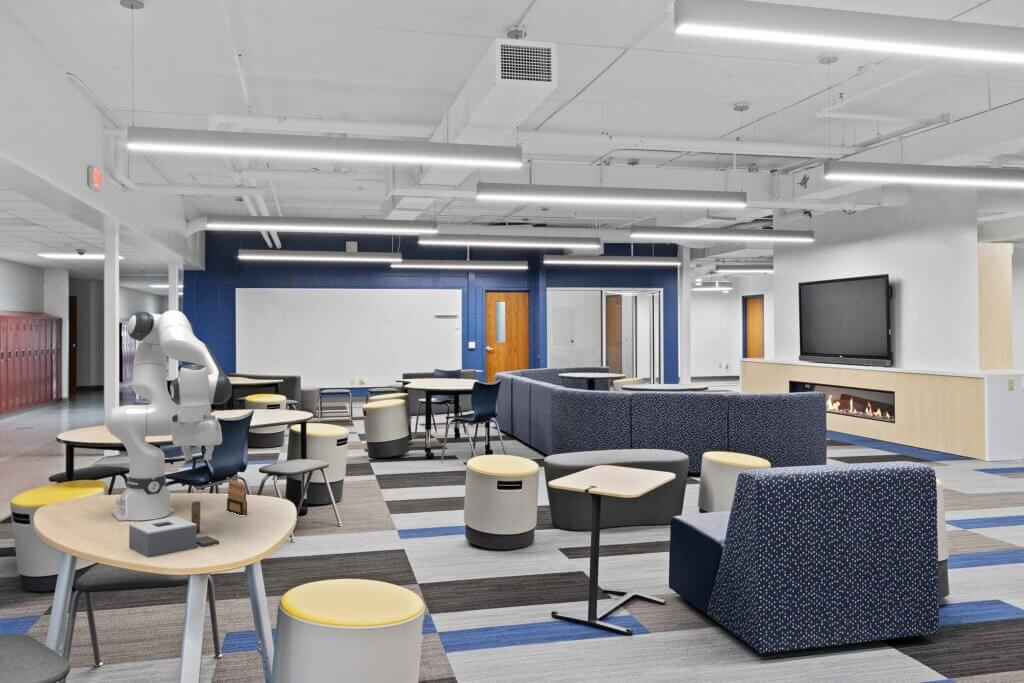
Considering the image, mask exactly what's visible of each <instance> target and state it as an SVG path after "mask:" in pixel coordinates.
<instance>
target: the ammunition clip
mask: <svg viewBox="0 0 1024 683" xmlns="http://www.w3.org/2000/svg"><path fill="white" fill-rule="evenodd" d="M227 511H229V512H233V513H236V514H239V515H247V516H248V501H247V489H246V483H245V481H240V480H236V479H235V480H234V479H232V478H230V479H229V481H228V491H227V498H226V512H227Z"/></svg>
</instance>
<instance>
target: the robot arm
mask: <svg viewBox="0 0 1024 683" xmlns="http://www.w3.org/2000/svg"><path fill="white" fill-rule="evenodd" d="M194 331H195V330H194V326H193V323H192V322H190V321H189V320H188V318H187V317H186V314H184V313H183V312H182V311H179V310H177V309H176V310H175V309H172V310H170V309H169V310H167V311H165V312H163V313H162V314H161V313H154V312H148V311H136V312H135V313H133V314H131V316H130V318H129V320H128V322H127V334H128V336H129V337H130V338H131V339H132V340H135V341H137V342H139V343H138V345H137V346H136V349H135V353H134V358H133V362H132V364H133V365H132V378H131V388H132V391H133V392H134V393H135V394H136V395H137V396H139V397H141V398H144V399H146V400H148V401H149V402H150V403H149V404H130V405H128V404H127V405H122V406H117V407H113V408H111V410H110V411H109V412H108V413H107V415H106V418H105V426H106V429H107V431H108V432H109V433H110V434H111V435H112V436H113V437H115V438H117V439H118V441H120V442H121V443H122V444H123V445H124V448H125V449H126V451H127V455H128V456H127V457H128V461H129V463H128V465H129V476H128V478H127V482H126V488H125V490H124V491H123V492H122V493H121V494H120V496H119V498H116V502H115V503H116V506H117V508H115V509H112V510H111V513H112V515H113V516H114V517H115V519H116V520H117V521H121V522H122V521H151V520H157V519H163V518H164V517H165V518H166V517H167V516H169V515H170V514H172V513H173V514H174V512H175V508H172V507H171V506H172V505H171V491H170V489H169V488H167V487H166V485H167V475H166V474H165V468H166V466H165V465H166V464H165V463H166V461H165V458H166V456H165V455H166V454H165V453H164V451H163V450H162V449H161V448H159V447H157V446H155V445H152V444H150V443H149V442H147V441H146V437H161V436H165V437H167V436H171V439H172V440H171V441H172V443H173V445H174V446H175V447H178V446H179V447H180V446H181V451H182V453H183V455H184V460H185V461H192V460H193V453H191V451H190V449H191V447H192V446H193V447H196V446H197V447H198V446H201V447H202V446H204V447H205V454H203V461H212V459H213V458H212V457H213V456H212V454H213V452H214V450H215V446H219V445H221V444H222V442H223V434H222V433H223V432H222V427H221V424H220V422H219V419H218V417H217V416H216V415H213V414H212V406H211V405H224V404H225V403H226V402H227V401H228V400H229V399H230V398H231V397H232V393H233V391H232V390H233V388H232V383H231V380H230V378H229V377H228V375H226V374H225V372H224V371H223V369H222V367H221V365H220V364H219V362H218V360H217V358H216V357H215V355H214V353H213V351H212V349H211V348H210V347H209V345H208V344H207V343H205V342H203V341H201V340H199V339H198V338H197V337H196V335H195V334H194ZM167 357H168V358H170V359H172V360H174V361H178V362H185V363H186V362H187V363H191V364H186V365H183V366H181V367H180V370H179V376H178V377H176V378H174V379H173V380H172V381H171V383H169V387H170V392H169V390H168V379H167V378H168V376H167V375H168V373H167V372H168V359H167ZM118 506H119V507H118Z"/></svg>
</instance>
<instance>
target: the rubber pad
mask: <svg viewBox="0 0 1024 683" xmlns="http://www.w3.org/2000/svg"><path fill="white" fill-rule="evenodd" d="M213 544H217V545H219V544H220V540H218V539H215V538H213V537H211V536H209V535H204V536H199V537H197V544H196V546H199V545H200V546H199V547H201V546H203V547H202V548H205V547H204V546H207V547H209V546H208V545H212V546H214V545H213Z"/></svg>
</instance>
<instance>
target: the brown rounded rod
mask: <svg viewBox="0 0 1024 683" xmlns="http://www.w3.org/2000/svg"><path fill="white" fill-rule="evenodd" d="M201 503H202V502H201V501H192V502H191V522H192V523H195V524H197V535H199V533H200V534H201Z"/></svg>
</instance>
